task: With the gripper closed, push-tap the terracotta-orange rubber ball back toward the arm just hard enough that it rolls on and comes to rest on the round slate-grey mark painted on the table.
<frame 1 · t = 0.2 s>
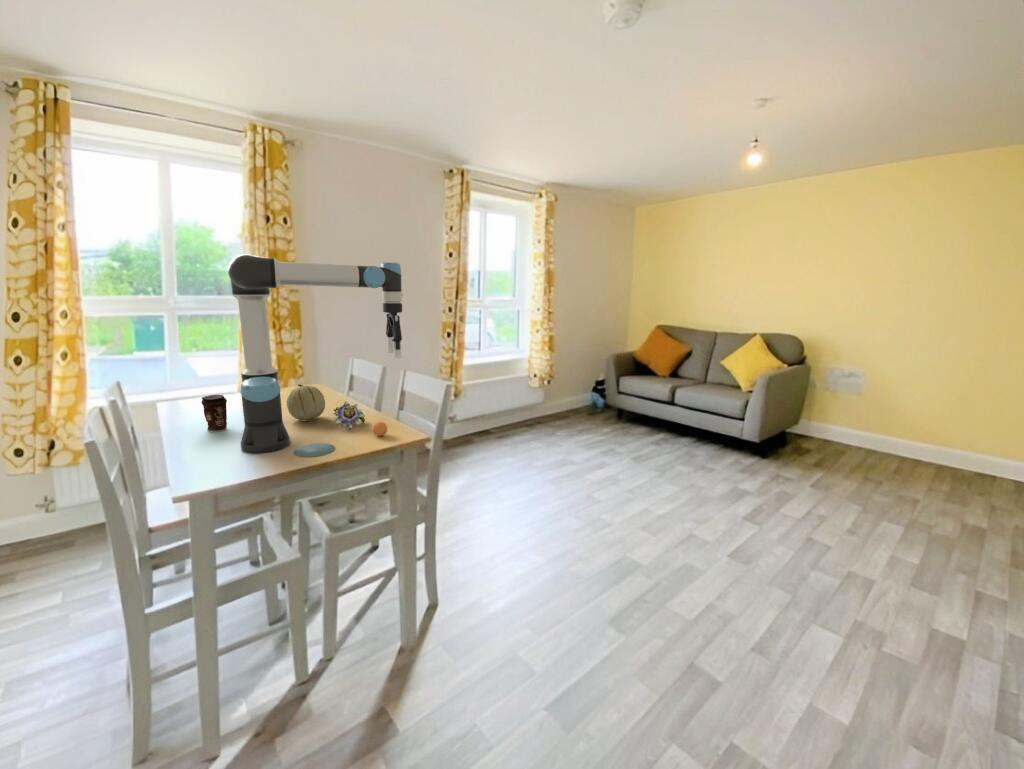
hand: (394, 355, 192), 27 cm above the table, tool pointing down, fingers open, 13 cm apart
cantaloupe: (307, 420, 195), on the table
passion flower: (349, 426, 188), on the table
mark: (314, 450, 161), on the table
coffee cup: (217, 429, 180), on the table
ball: (379, 429, 176), on the table
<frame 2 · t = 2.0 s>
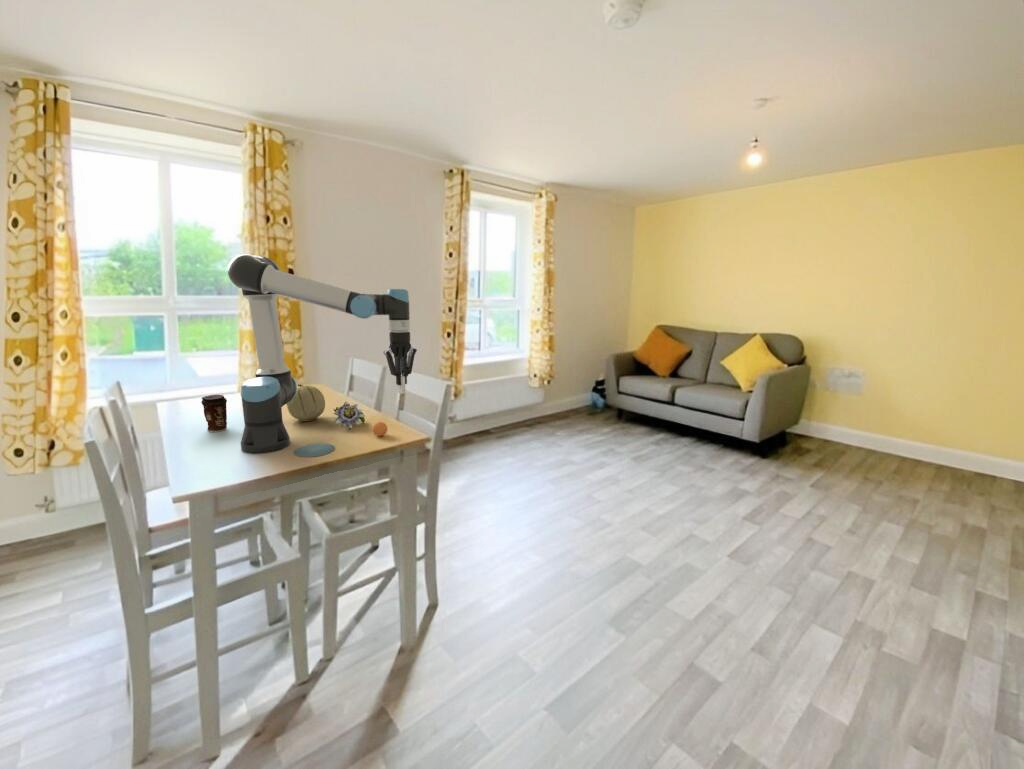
hand: (402, 392, 180), 15 cm above the table, tool pointing down, fingers closed
nothing on the table moved.
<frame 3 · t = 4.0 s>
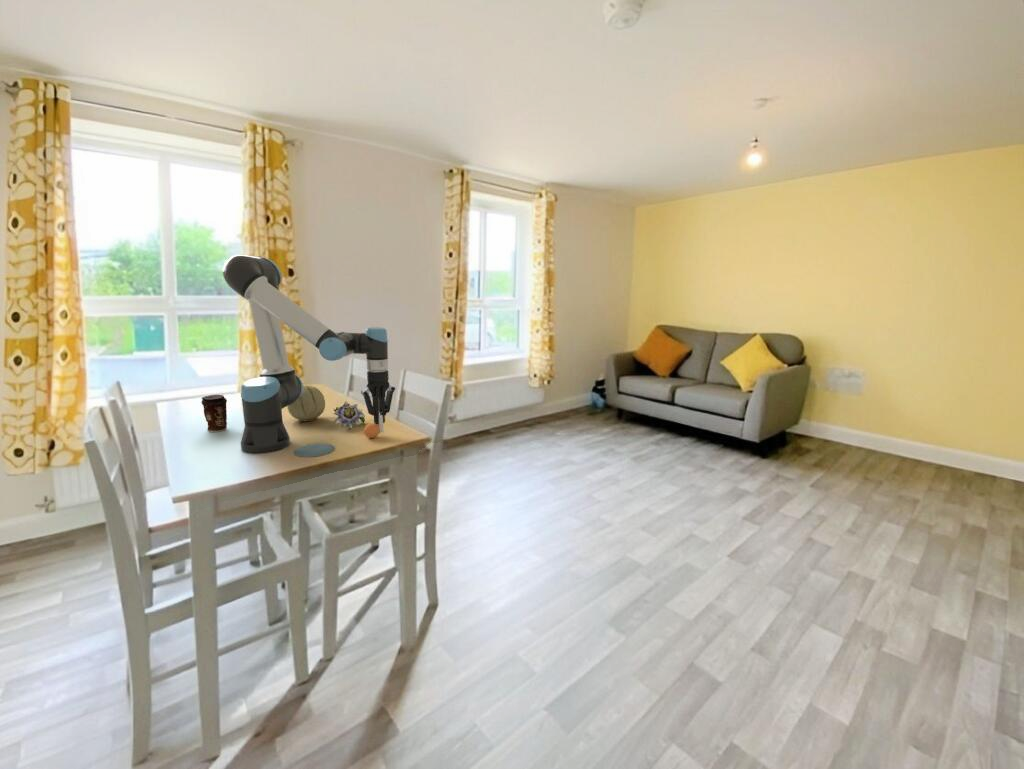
hand: (379, 431, 177), 2 cm above the table, tool pointing down, fingers closed
ball: (371, 430, 174), on the table, touching gripper
everything else where it was.
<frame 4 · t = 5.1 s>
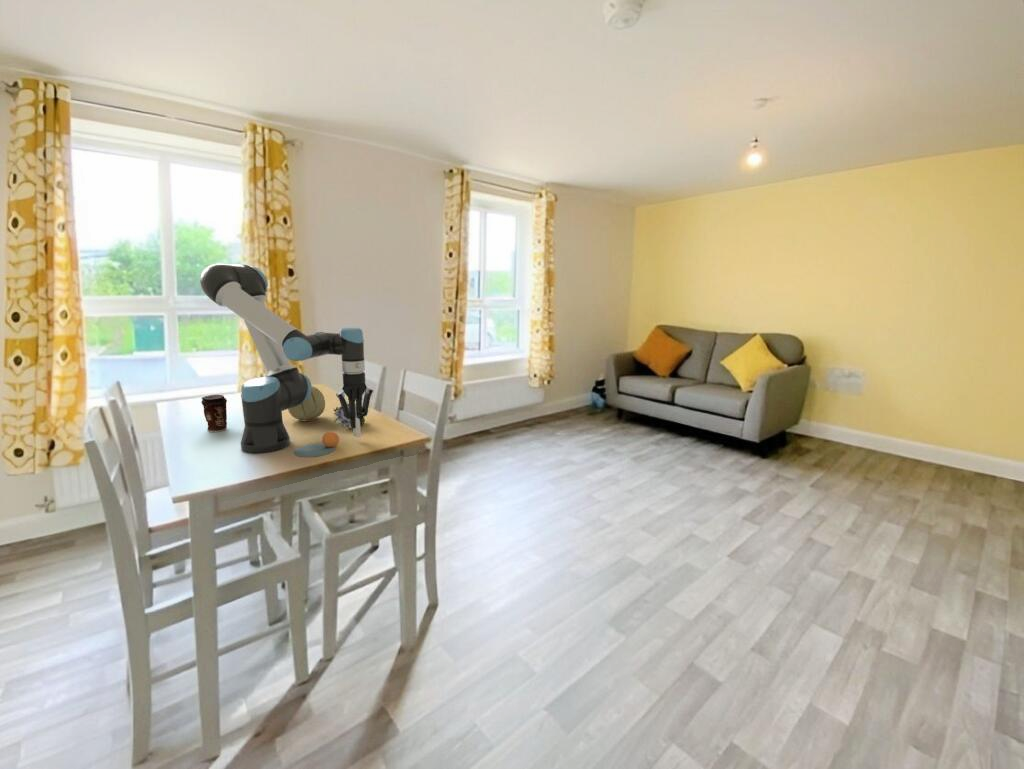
hand: (357, 435, 170), 2 cm above the table, tool pointing down, fingers closed
ball: (330, 439, 164), on the table
everything else where it was.
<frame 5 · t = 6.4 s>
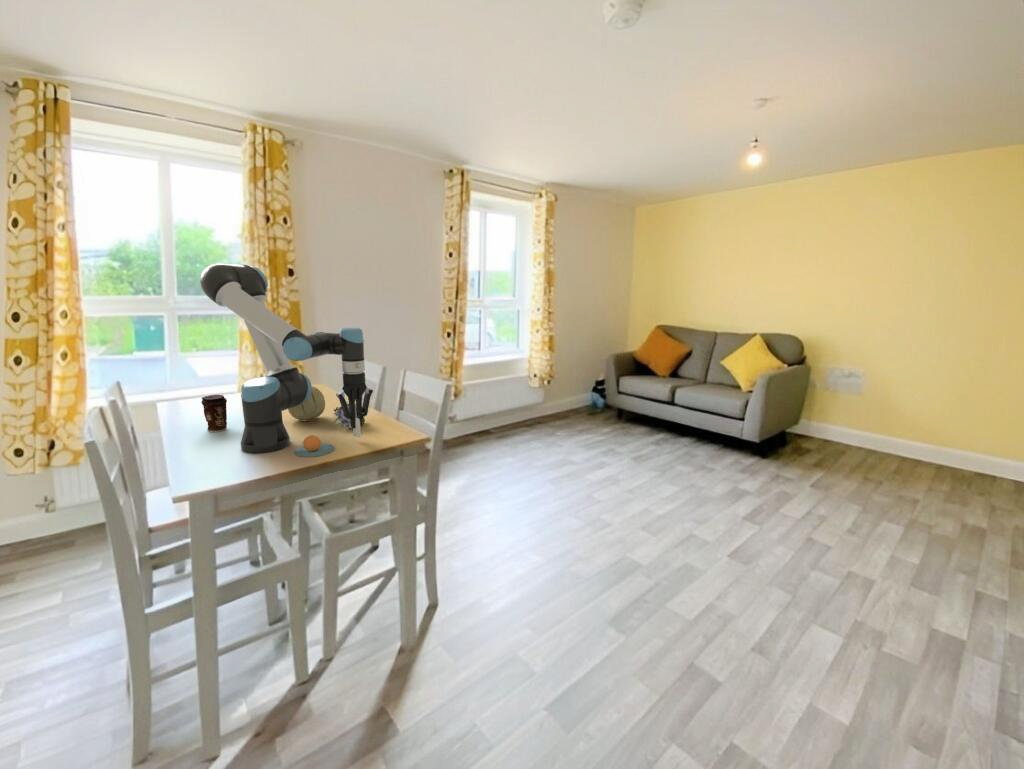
hand: (357, 435, 170), 2 cm above the table, tool pointing down, fingers closed
ball: (311, 443, 159), on the table
everything else where it was.
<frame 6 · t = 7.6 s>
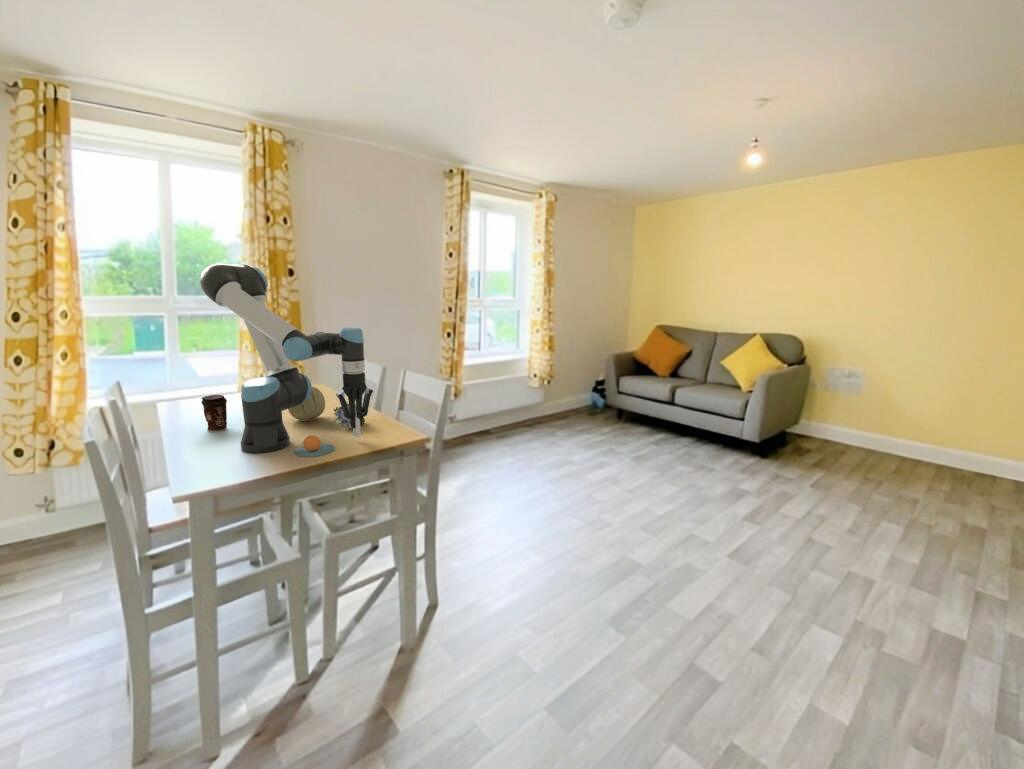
hand: (357, 435, 170), 2 cm above the table, tool pointing down, fingers closed
nothing on the table moved.
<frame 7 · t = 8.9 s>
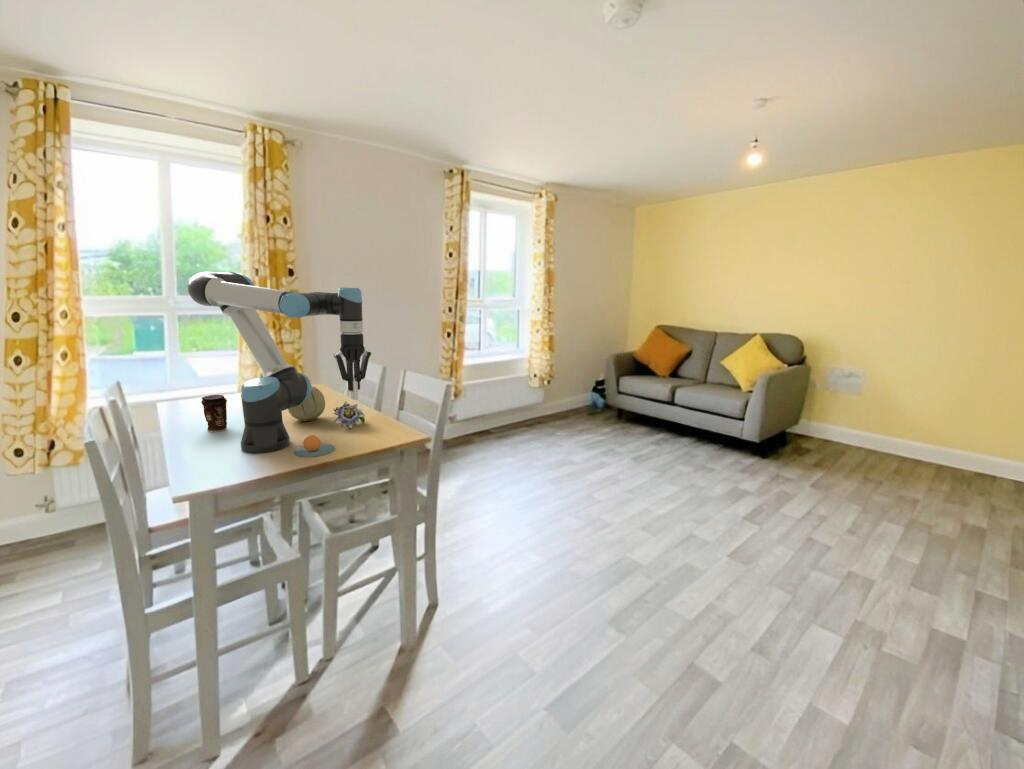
hand: (354, 399, 168), 16 cm above the table, tool pointing down, fingers closed
nothing on the table moved.
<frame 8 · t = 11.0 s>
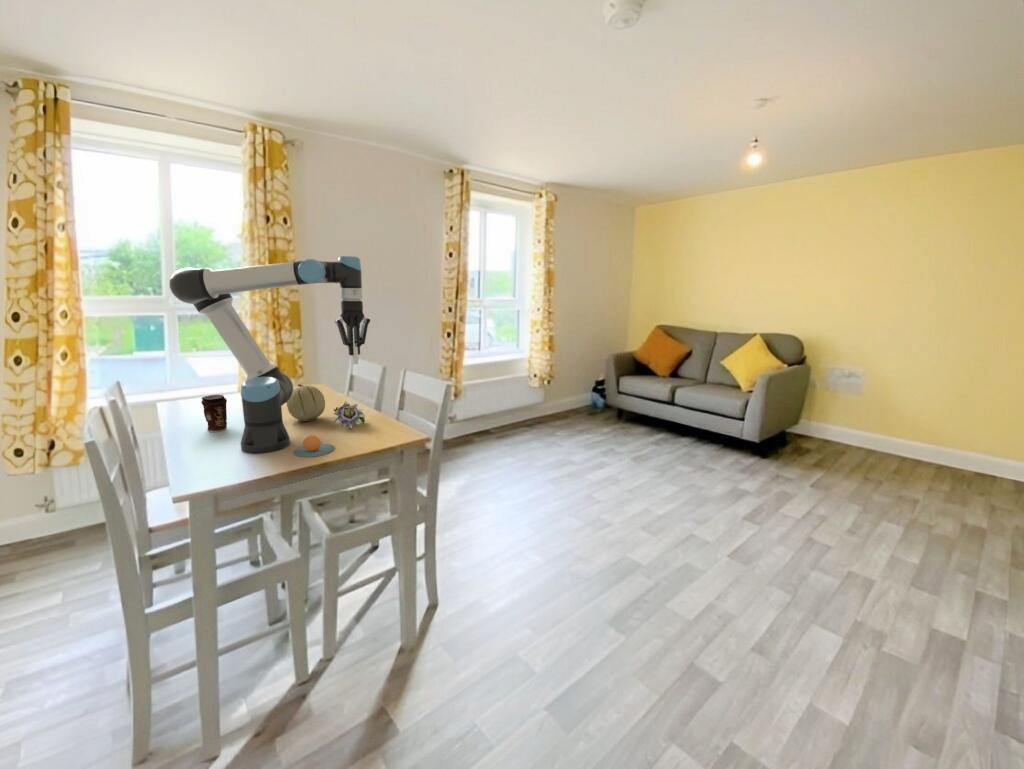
hand: (355, 363, 177), 26 cm above the table, tool pointing down, fingers closed
nothing on the table moved.
at the end: ball 1.0 cm from the mark (horizontally); ball at rest at the end (0.0 cm/s); ball moved 25.1 cm from its start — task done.
